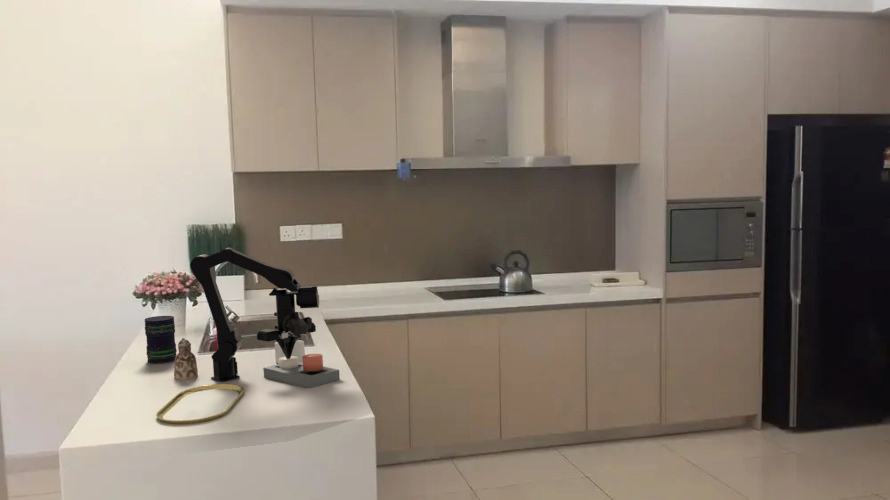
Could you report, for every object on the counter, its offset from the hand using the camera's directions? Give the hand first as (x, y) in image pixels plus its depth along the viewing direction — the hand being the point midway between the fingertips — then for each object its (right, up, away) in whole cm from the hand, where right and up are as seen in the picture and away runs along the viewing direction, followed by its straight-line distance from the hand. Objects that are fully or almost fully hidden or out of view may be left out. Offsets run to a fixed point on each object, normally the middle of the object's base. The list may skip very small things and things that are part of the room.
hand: (288, 358), depth 244 cm
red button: (+9, -2, -8) cm, 12 cm away
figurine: (-33, -7, +4) cm, 34 cm away
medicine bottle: (-3, -4, +18) cm, 19 cm away
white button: (0, -4, 0) cm, 4 cm away
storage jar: (-49, -5, +28) cm, 57 cm away
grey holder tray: (+5, -6, -3) cm, 8 cm away
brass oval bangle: (-18, -10, -29) cm, 35 cm away
